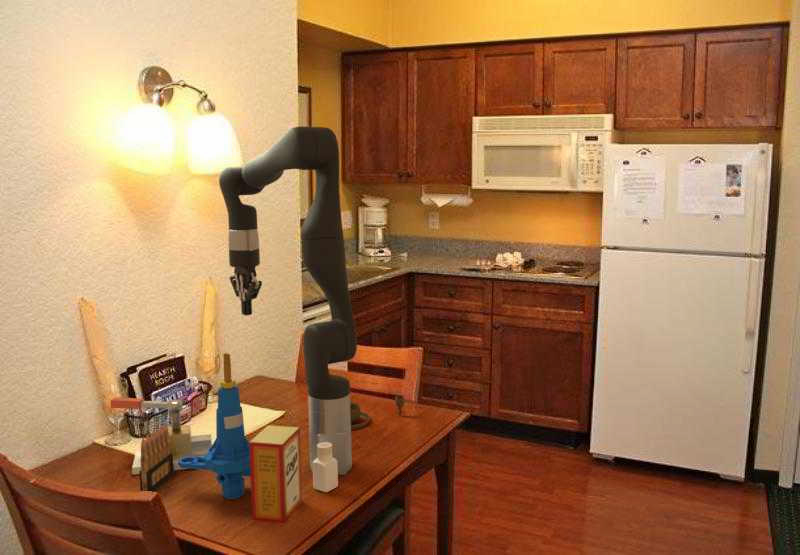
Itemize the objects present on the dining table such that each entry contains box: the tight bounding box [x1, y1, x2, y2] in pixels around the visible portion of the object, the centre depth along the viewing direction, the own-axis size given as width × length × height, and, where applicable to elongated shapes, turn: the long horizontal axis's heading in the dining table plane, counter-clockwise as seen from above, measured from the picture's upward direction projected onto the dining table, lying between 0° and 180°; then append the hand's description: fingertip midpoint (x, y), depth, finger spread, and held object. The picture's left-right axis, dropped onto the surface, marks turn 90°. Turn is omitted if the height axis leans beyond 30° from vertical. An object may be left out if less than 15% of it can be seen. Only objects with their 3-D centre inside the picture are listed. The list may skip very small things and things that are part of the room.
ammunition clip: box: [139, 422, 175, 492], centre depth 156 cm, size 11×2×12 cm, turn 168°
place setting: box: [350, 395, 405, 435], centre depth 192 cm, size 18×20×6 cm
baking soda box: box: [248, 424, 303, 524], centre depth 144 cm, size 10×6×16 cm
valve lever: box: [110, 397, 184, 412], centre depth 167 cm, size 3×17×2 cm, turn 82°
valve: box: [178, 352, 251, 500], centre depth 150 cm, size 11×17×30 cm, turn 76°
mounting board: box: [131, 451, 204, 475], centre depth 168 cm, size 19×9×2 cm, turn 104°
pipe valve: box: [145, 410, 213, 461], centre depth 167 cm, size 15×6×11 cm, turn 104°
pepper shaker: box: [312, 442, 339, 493], centre depth 154 cm, size 4×4×10 cm
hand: (246, 314), depth 188 cm, fingers closed
